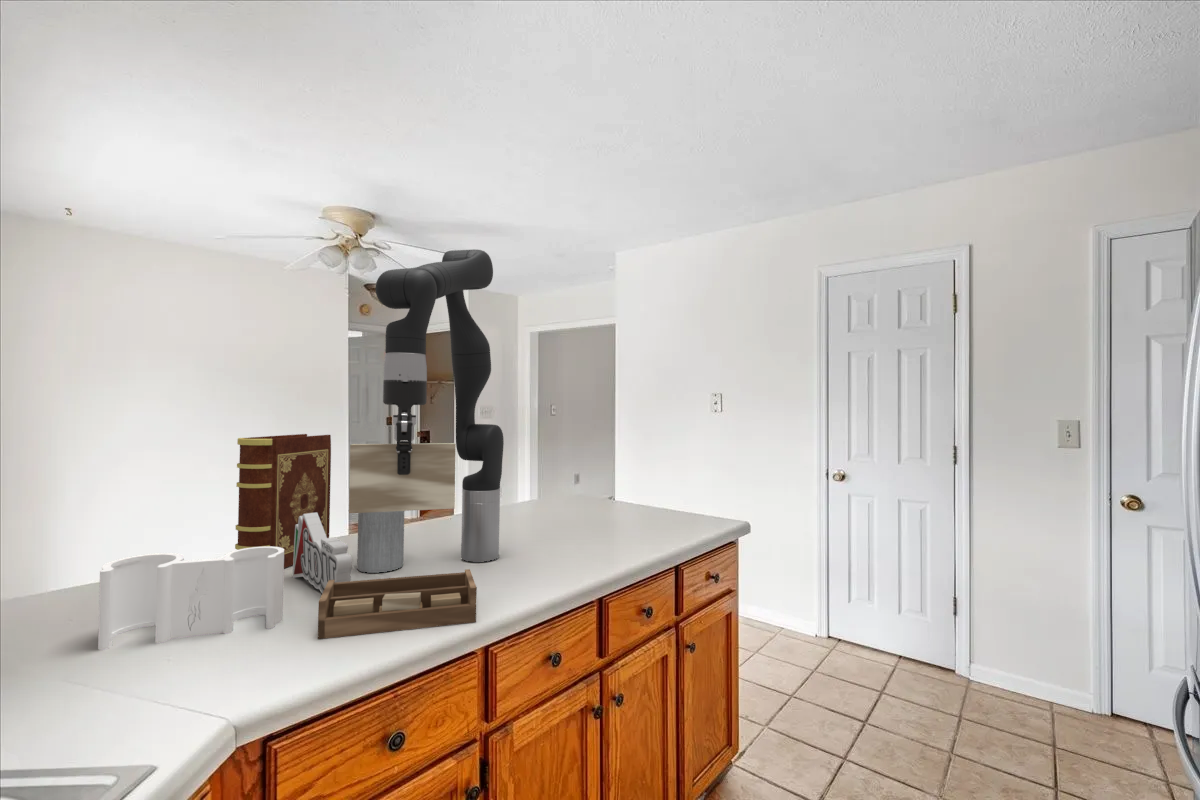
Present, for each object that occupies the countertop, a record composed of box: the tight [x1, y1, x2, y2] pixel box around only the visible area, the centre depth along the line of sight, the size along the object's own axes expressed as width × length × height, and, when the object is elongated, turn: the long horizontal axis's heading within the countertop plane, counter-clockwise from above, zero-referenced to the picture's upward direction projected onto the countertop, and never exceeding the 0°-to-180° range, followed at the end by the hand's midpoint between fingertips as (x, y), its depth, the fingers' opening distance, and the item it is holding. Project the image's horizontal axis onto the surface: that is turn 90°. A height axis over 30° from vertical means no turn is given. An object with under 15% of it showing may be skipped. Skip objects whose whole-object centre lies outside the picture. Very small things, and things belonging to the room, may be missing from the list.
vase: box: [356, 511, 405, 574], centre depth 130 cm, size 10×10×27 cm
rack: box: [317, 568, 478, 640], centre depth 99 cm, size 12×25×6 cm, turn 109°
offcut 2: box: [431, 593, 461, 607], centre depth 99 cm, size 3×5×4 cm, turn 108°
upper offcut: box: [382, 592, 421, 611], centre depth 97 cm, size 3×6×2 cm, turn 102°
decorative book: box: [234, 433, 332, 569], centre depth 132 cm, size 22×8×30 cm, turn 168°
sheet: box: [348, 442, 456, 514], centre depth 102 cm, size 2×18×12 cm, turn 109°
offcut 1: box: [333, 598, 374, 617], centre depth 94 cm, size 3×6×4 cm, turn 109°
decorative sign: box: [291, 512, 353, 594], centre depth 115 cm, size 23×3×15 cm, turn 47°
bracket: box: [97, 546, 285, 651], centre depth 93 cm, size 25×10×12 cm, turn 112°
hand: (403, 472), depth 102 cm, fingers closed on sheet, 2 cm apart
